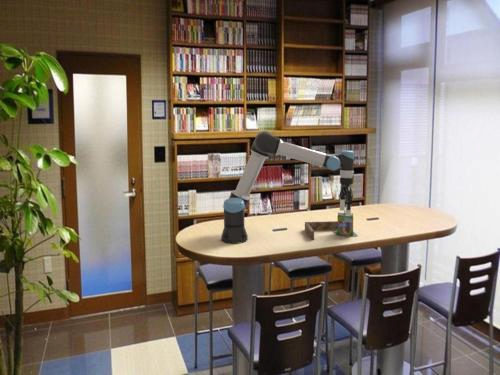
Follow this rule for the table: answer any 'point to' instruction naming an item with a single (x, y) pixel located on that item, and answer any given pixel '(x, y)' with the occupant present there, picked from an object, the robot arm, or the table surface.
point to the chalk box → (345, 224)
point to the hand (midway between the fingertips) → (344, 212)
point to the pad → (345, 235)
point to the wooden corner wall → (320, 227)
